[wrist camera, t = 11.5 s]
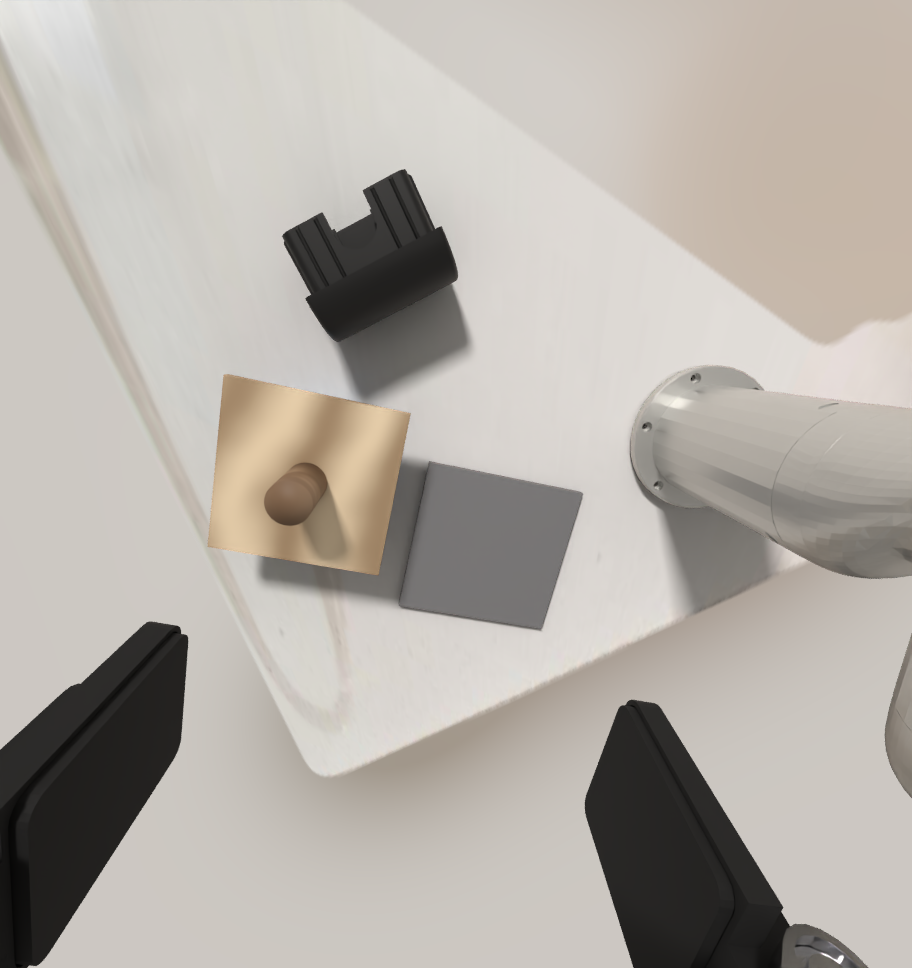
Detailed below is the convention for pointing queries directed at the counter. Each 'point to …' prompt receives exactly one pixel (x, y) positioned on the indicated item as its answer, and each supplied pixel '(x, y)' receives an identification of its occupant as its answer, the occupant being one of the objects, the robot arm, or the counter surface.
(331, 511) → the lid
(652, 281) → the counter surface
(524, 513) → the mat
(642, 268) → the counter surface
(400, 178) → the end cap
